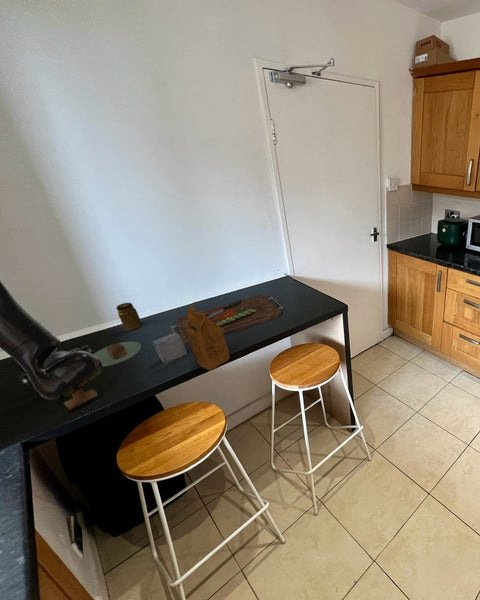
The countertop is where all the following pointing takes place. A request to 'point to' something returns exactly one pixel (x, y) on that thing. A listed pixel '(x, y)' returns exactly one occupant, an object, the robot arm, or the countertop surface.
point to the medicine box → (169, 347)
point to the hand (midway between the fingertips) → (55, 361)
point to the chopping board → (236, 315)
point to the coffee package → (206, 340)
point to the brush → (81, 399)
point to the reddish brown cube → (116, 351)
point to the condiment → (129, 317)
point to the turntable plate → (107, 360)
